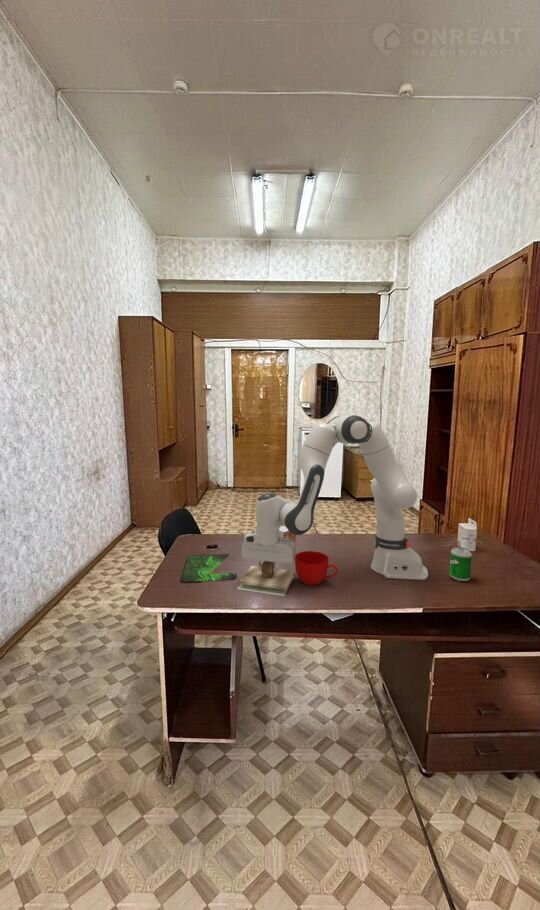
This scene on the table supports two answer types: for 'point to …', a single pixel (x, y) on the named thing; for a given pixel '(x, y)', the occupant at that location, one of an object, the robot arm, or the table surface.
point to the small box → (286, 534)
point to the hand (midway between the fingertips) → (268, 571)
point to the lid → (268, 576)
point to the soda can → (460, 564)
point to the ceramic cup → (312, 567)
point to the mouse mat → (204, 569)
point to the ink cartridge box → (467, 535)
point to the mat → (264, 589)
